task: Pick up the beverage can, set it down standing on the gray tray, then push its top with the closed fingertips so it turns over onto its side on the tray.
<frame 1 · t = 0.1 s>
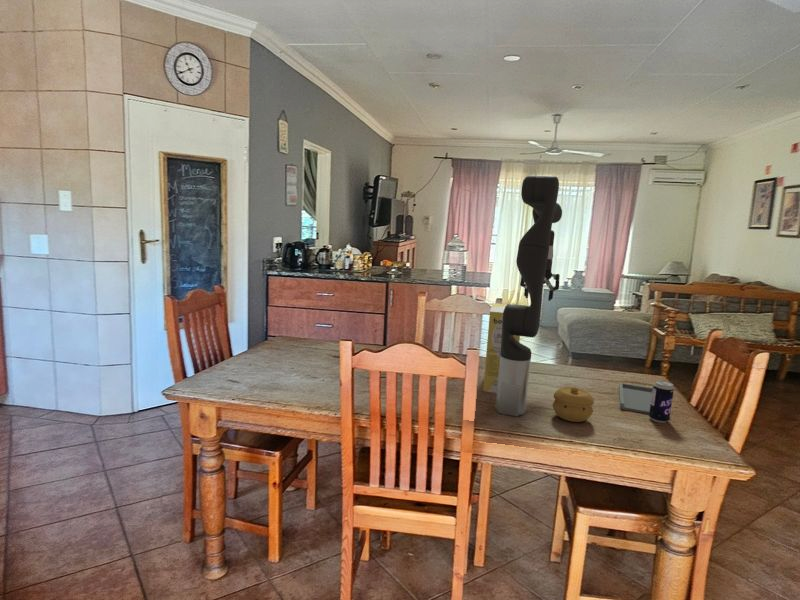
hand: (538, 299, 194), 29 cm above the table, fingers open, 8 cm apart
pasta box: (499, 385, 182), on the table
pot: (571, 419, 154), on the table
gray tray: (641, 401, 173), on the table
beverage can: (658, 420, 157), on the table
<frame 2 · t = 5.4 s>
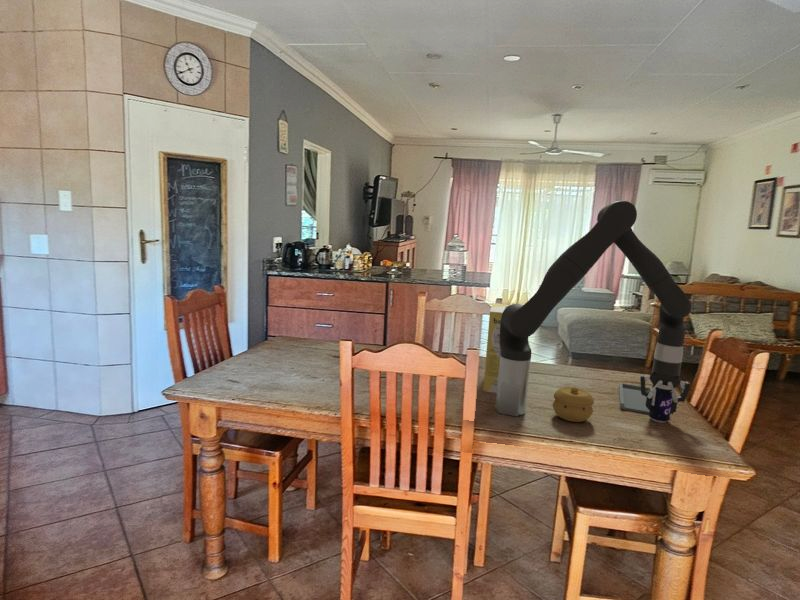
hand: (660, 410, 156), 3 cm above the table, fingers closed on beverage can, 5 cm apart
beverage can: (658, 420, 157), on the table, touching gripper
everything else where it was.
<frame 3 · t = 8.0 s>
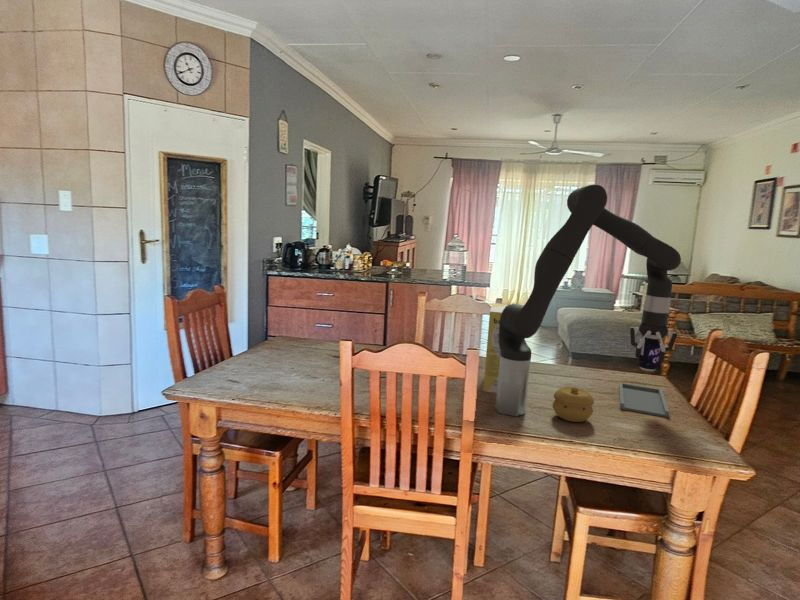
hand: (648, 360, 165), 16 cm above the table, fingers closed on beverage can, 5 cm apart
beverage can: (647, 369, 165), point 13 cm above the table, touching gripper
everything else where it was.
when the fingers open (5 cm above the table, at t = 10.4 s): beverage can stays where it is, resting on gray tray.
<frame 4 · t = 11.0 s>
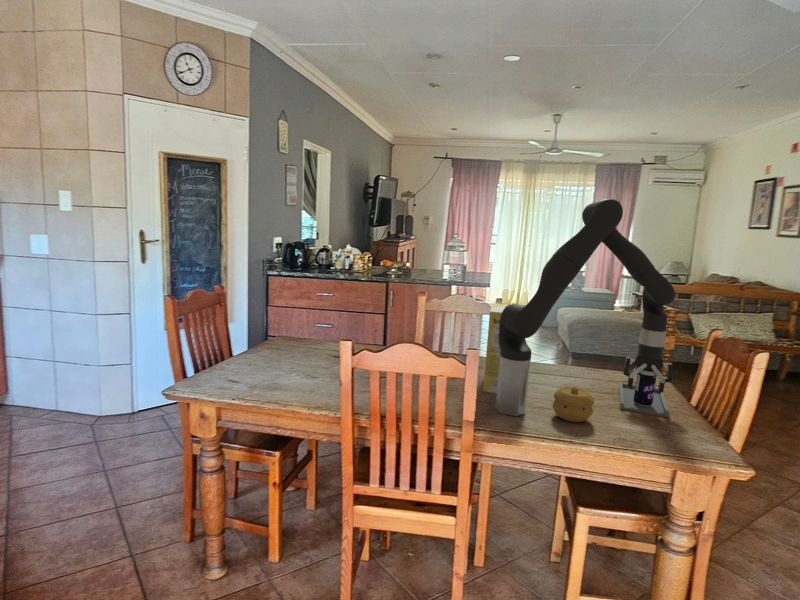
hand: (644, 390, 166), 6 cm above the table, fingers open, 8 cm apart
beverage can: (642, 405, 167), point 1 cm above the table, touching gray tray
everything else where it was.
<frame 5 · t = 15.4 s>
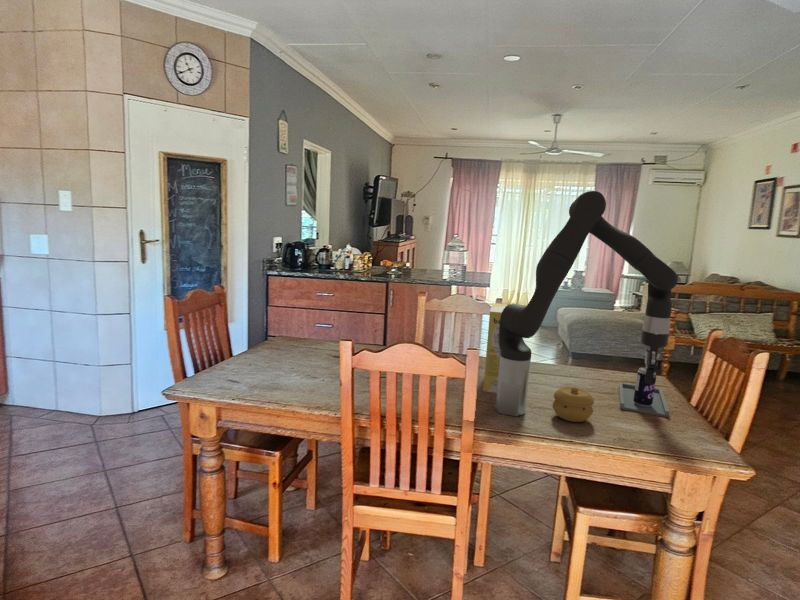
hand: (648, 383, 161), 10 cm above the table, fingers closed
beverage can: (642, 405, 167), point 1 cm above the table, touching gray tray, gripper
everything else where it was.
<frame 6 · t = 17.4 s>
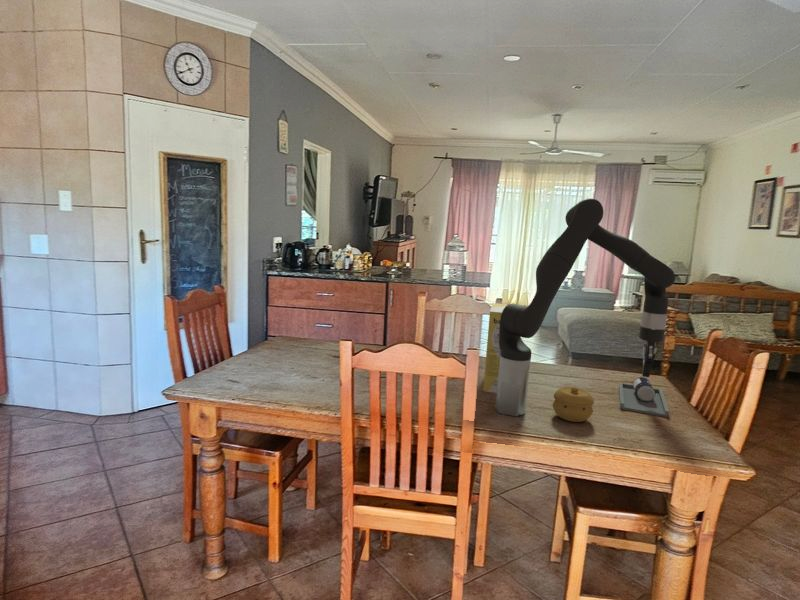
hand: (645, 376, 169), 10 cm above the table, fingers closed
beverage can: (646, 394, 169), point 4 cm above the table, touching gray tray
everything else where it was.
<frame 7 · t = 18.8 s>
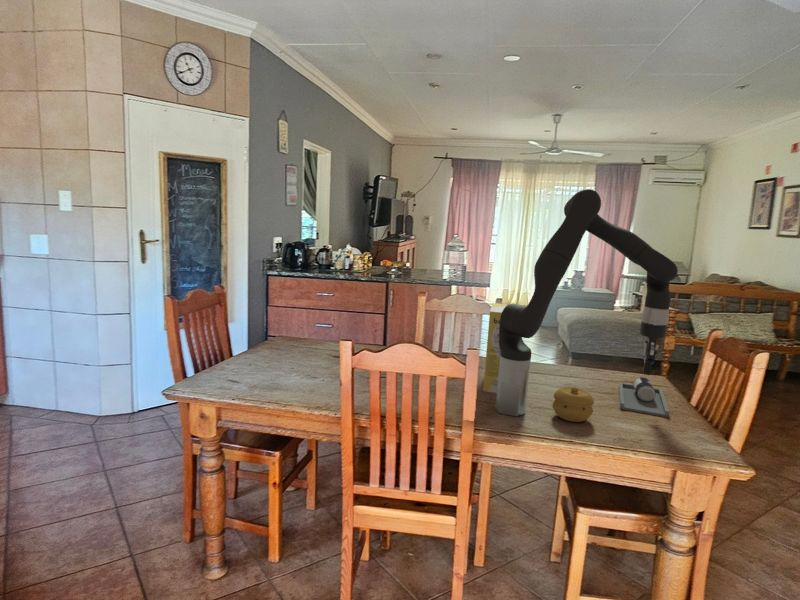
hand: (646, 374, 163), 12 cm above the table, fingers closed
nothing on the table moved.
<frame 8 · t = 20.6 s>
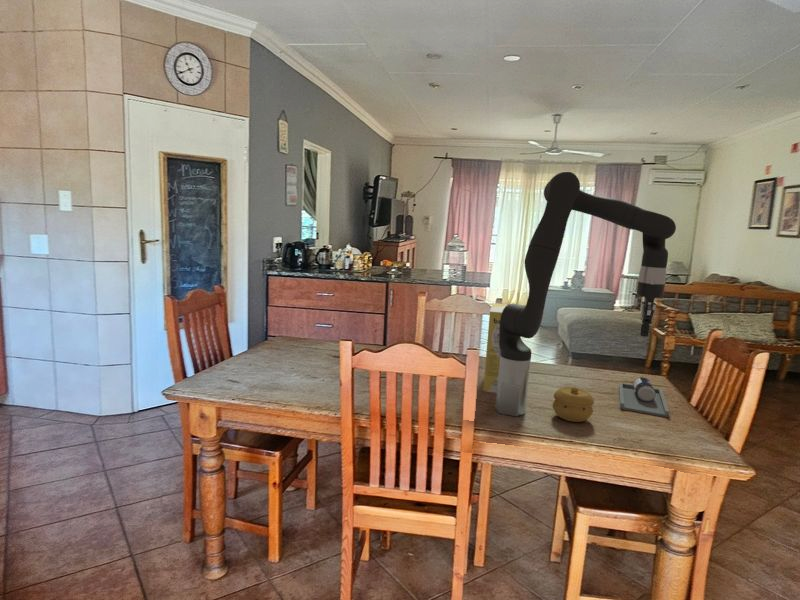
hand: (643, 335, 159), 25 cm above the table, fingers closed
nothing on the table moved.
at the end: beverage can tilted 90°; beverage can inside the target area (5.9 cm from its centre), point 3.6 cm above the table; the gripper is holding nothing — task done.
